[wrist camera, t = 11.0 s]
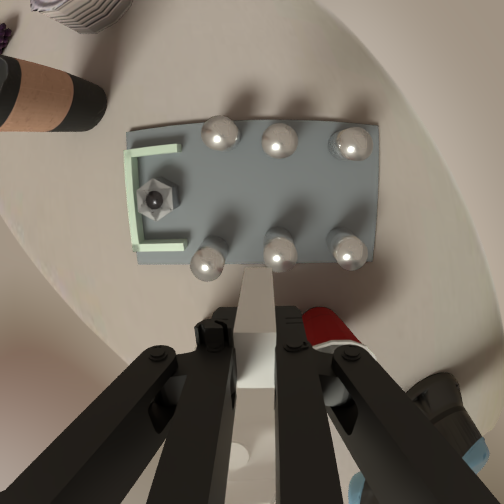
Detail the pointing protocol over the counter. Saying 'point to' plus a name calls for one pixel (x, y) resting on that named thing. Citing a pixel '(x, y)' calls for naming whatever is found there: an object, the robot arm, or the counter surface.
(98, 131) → the counter surface
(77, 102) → the travel mug
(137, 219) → the parts pocket
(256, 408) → the milk
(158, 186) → the nut
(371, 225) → the board
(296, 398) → the robot arm
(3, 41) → the fruit
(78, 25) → the can
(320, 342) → the plastic cup
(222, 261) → the spacers
